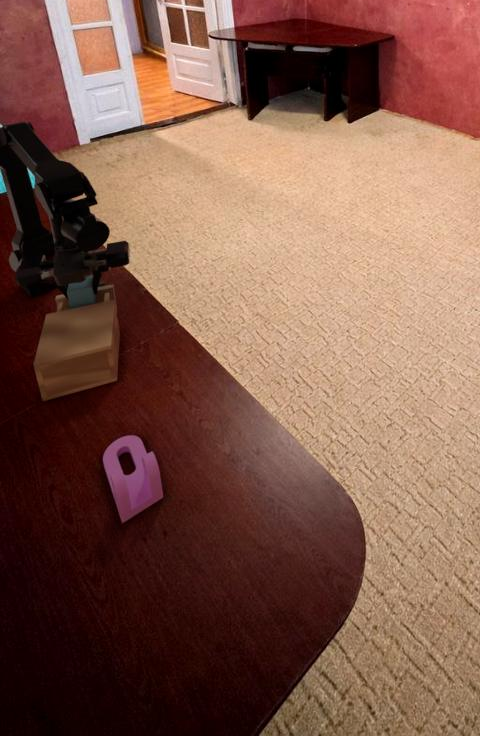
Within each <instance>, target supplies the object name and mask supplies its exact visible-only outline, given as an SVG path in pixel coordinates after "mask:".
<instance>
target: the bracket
mask: <svg viewBox="0 0 480 736" xmlns="http://www.w3.org/2000/svg"><path fill="white" fill-rule="evenodd" d="M125 453H129V454H130V457H131V459H132V462H133V465H134V467H135V469H134V471H132V473H131V474H124V471H123V469H122V467H121V466H122V465H121V463H120V460H119V458H120V456H121V455H123V454H125ZM102 463H103V469H104V471H105V474H106V478H107V480H108V483H109V486H110V490H111V493H112V496H113V499H114V503H115V505H116V508H117V512H118V515H119V517H120V521H121V524H123V523H125V522H127V521H128V520H130V519H132V518H133V517H135V516H136V515H138V514H139V513H141V512H143V511H144V510H146V509H148V508H150V507H151V506H152V505H153V504H155V503H157V502H158V501H160V500H162V499H163V498H164V492H163V484H162V477H161V472H160V467H159V463H158V460H157V458H156V455H155V453H154V451H150V452H147V450H146V447H145V445H144V442H143V441H142V439H141V437H139V436H137V435H134V434H133V435H131V434H130V435H129V434H128V435H125V436H121V437H119V438H117V439H115V440H114V441H113V442H112V443H111V444H109V446H107V447H106V449H105V450H104V453H103V456H102Z"/></svg>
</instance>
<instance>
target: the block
mask: <svg viewBox="0 0 480 736" xmlns="http://www.w3.org/2000/svg"><path fill="white" fill-rule="evenodd" d="M67 295H68V300H69V305H70V309H72V308H76V307H81V306H86V305H91V304H94V303H95V296H96V295H94V291H93V274H91V275H87V278H86V280H85V281H83V282H80V283H71V284H69V285H68V289H67Z"/></svg>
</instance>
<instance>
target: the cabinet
mask: <svg viewBox="0 0 480 736" xmlns="http://www.w3.org/2000/svg"><path fill="white" fill-rule="evenodd" d="M120 336H121V331H120V324H119V318H118V311H117V312H116V306H115V300H110V301H106V302H101V303H96V304H92V305H87V306H82V307H78V308H73V309H68V310H64V311H59V312H57V311H55V312H49V313H46V314H45V318H44V322H43V325H42V330H41V334H40V338H39V342H38V345H37V349H36V353H35V356H34V361H33V368H34V373H35V376H36V381H37V385H38V388H39V389H38V390H39V392H40V397H41V401H42V402H46V401H49V400H53V399H57V398H60V397H63V396H67V395H71V394H75V393H78V392H83V391H85V390H88V389H89V390H90V389H93V388H96V387H99V386H103V385H106V384H110V383H115V382H117V381H118V374H119V373H118V371H119V357H120V356H119V355H120V338H121V337H120Z"/></svg>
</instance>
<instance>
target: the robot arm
mask: <svg viewBox="0 0 480 736" xmlns="http://www.w3.org/2000/svg"><path fill="white" fill-rule="evenodd" d="M29 172H30V173H31V174H32V176H33V177H34V185H33V184H32V179H31V176H30V173H29ZM0 173H1V177H2V181H3V185H4V188H5V191H6V195H7V198H8V202H9V205H10V208H11V213H12V215H13V219H14V222H15V225H16V231H15V233H14V235H13V237H12V240H11V246H12V251H11V252H10V255H9V258H8V262H9V265H10V268H11V269H12V270H13V271H14V278H15V283H16V285H18V286H19V288H20V289H21V290H23V292H25V294H27V295H28V296H29V297H30V298H35V297H36V296H39V295H41V294H43V293H45V292H49V291H50V290H52V289H55V288H57V289H58V290H59V291H60V293H62V295H64V296H65V297H66V298H67V299H68V295H67V289H68V285H69V284H71V283H80V282H83V281H85V280H86V278H87V276H90V275H93V291H94V295H96V294H97V290H98V286H99V283H101V282H100V281H101V278H102V276H103V274H104V273H107V272H109V271H110V269H115V268H119V267H124V266H128V265H129V264H130V257H131V256H130V255H131V247H130V243H129V242H128V241H126V240H121V241H115V242H108V243H106V242H107V241H108V240H109V237H110V233H111V232H110V227H109V226H108V225H107V224H108V223H107V224H106V223H105V222H104V221H102V220H101V219H100V218H99V217H97V216H96V215H95V214H94V213H92V212H91V209H90V207H93V206H96V205H99V202H98V200H97V198H96V197H97V192H96V190H95V189H94V187H93V185H92V183H91V182H90V180H89V178H88V177H87V175H85V172H83V171H81V170H79V168H77V167H76V166H75V165H74V164H73V163H71V162H69V161H65V160H60V159H59V158H57V157H56V155H55V153H53V152H52V151H51V150H50V148H49V147H48V146H47V145H46V143H45V142H44V141H43V140H42V139H41V138H40V137H39V136H38V134H37V133H36V131H35V128H34V126H33V124H32V123H31V122H30V121H27V122H26V121H20V122H14V123H9V124H4V125H2V126H0ZM83 195H84V196H85V197H82V196H83ZM79 197H82V198H80V199H76V200H75V198H79ZM36 198H37V199H36ZM37 200H38V201H39V203H40V204H41V206H42V208H43V210H44V211H45V213H46V214H47V216H48V220H49V224H50V229H51V230H50V229H49V228H47V227H45V225H44V223H43V221H42V217H41V213H40V210H39V205H38V202H37ZM105 243H106V248H102V249H99V248H101V247H103V246H104V245H105ZM93 251H94V252H93Z"/></svg>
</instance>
